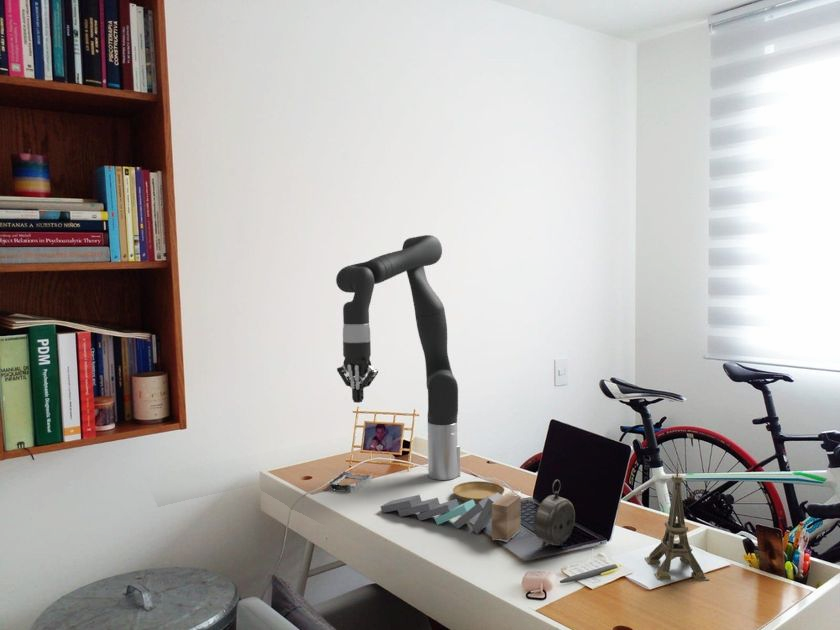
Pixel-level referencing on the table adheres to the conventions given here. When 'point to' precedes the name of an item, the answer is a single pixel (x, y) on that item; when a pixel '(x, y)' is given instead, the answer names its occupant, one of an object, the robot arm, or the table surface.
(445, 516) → the domino
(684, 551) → the eiffel tower
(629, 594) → the table surface
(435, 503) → the domino
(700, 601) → the table surface
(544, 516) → the alarm clock
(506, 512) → the end block
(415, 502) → the domino
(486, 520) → the domino
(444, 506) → the domino
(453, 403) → the robot arm
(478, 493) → the plant saucer
